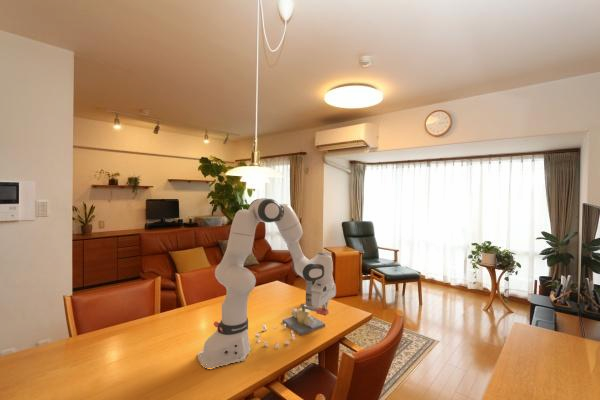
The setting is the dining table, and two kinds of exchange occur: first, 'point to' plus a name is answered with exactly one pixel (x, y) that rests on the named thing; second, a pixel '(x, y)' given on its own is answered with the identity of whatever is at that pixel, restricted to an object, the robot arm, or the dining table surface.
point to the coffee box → (309, 292)
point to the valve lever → (315, 309)
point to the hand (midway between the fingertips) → (324, 309)
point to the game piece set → (276, 344)
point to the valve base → (302, 327)
